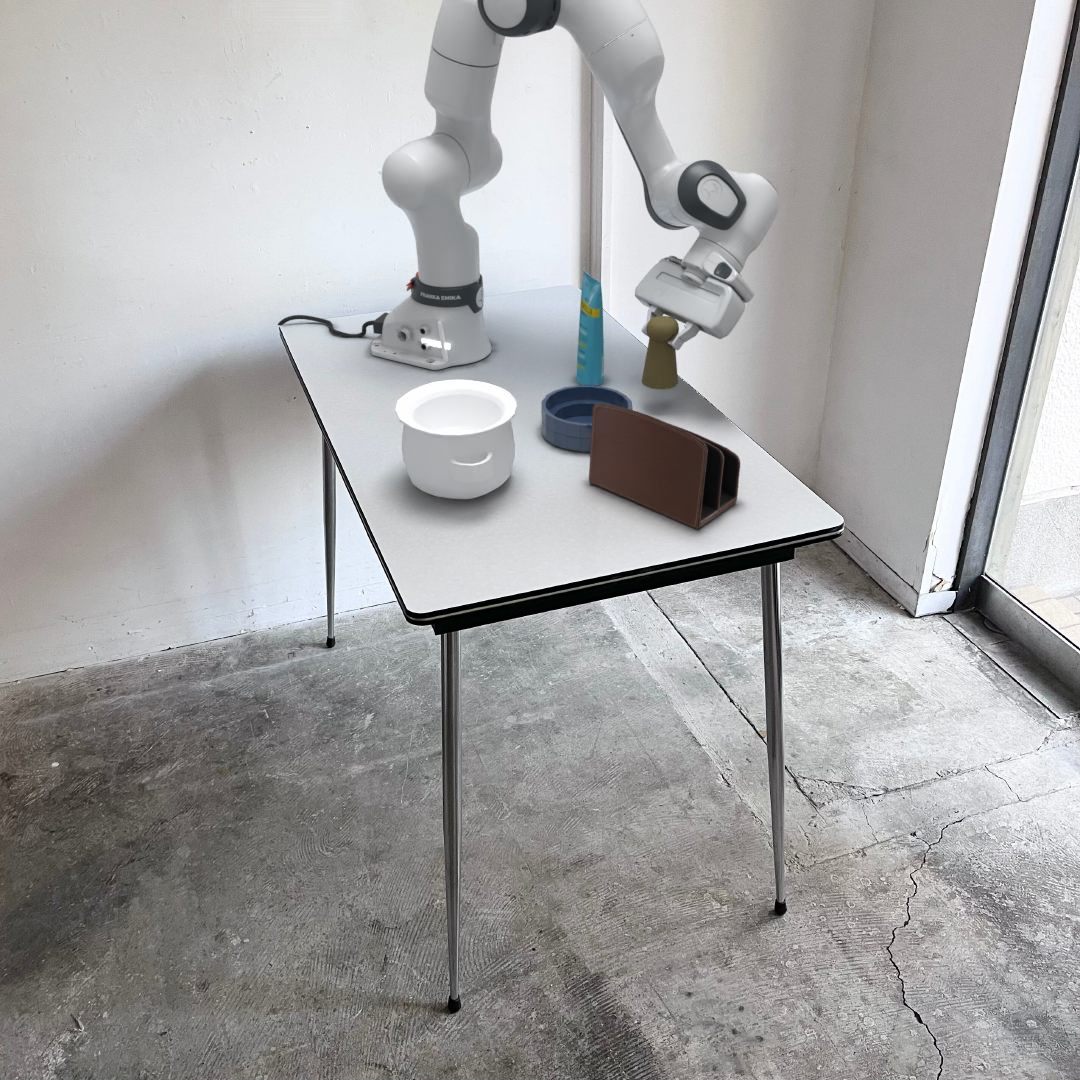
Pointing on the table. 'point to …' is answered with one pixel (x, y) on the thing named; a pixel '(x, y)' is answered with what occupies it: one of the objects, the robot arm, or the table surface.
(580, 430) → the bowl
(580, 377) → the tube
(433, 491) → the pot
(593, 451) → the letter holder
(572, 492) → the table surface
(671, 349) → the cork
